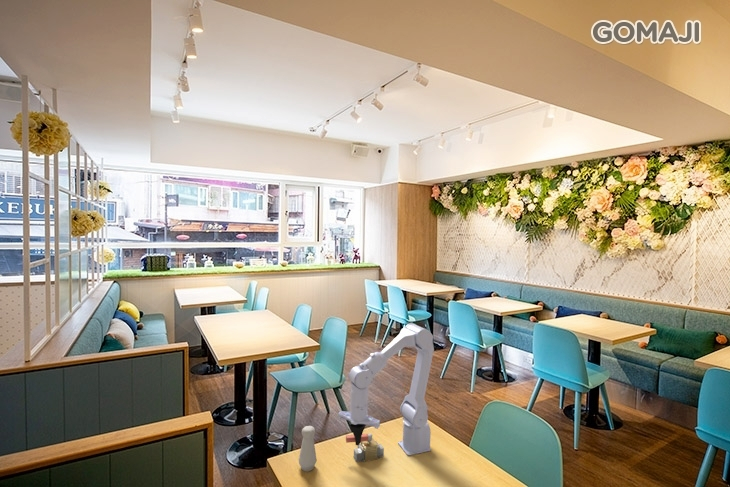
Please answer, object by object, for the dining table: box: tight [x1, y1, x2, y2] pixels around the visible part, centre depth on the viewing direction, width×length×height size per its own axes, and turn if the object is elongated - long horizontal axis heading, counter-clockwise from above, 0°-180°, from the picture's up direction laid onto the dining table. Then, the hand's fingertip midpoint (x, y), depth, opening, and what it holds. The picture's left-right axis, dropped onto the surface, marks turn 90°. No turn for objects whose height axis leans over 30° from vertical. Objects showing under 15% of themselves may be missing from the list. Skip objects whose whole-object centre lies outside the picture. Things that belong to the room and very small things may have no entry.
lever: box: [345, 432, 373, 444], centre depth 123 cm, size 9×2×2 cm, turn 101°
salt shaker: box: [298, 425, 317, 472], centre depth 117 cm, size 6×6×13 cm
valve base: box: [353, 437, 385, 463], centre depth 124 cm, size 10×4×6 cm, turn 111°
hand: (358, 443), depth 121 cm, fingers closed, pressing on lever
